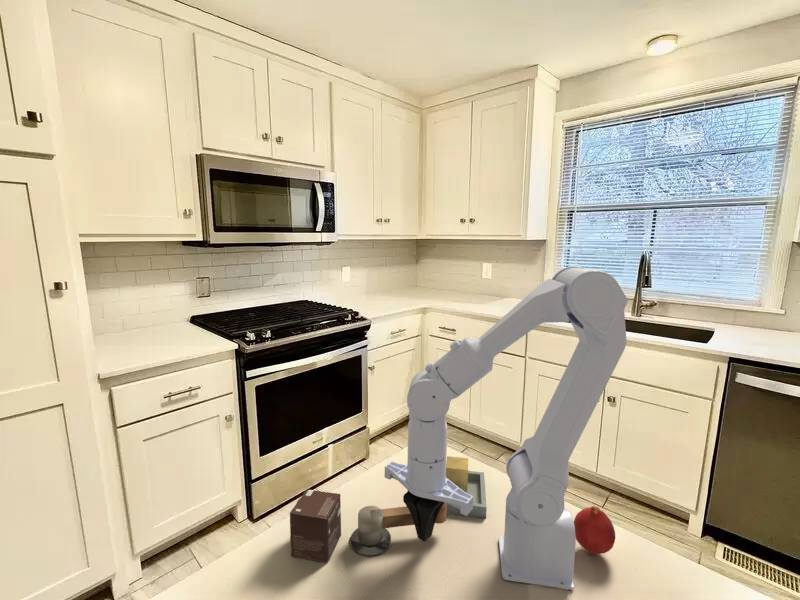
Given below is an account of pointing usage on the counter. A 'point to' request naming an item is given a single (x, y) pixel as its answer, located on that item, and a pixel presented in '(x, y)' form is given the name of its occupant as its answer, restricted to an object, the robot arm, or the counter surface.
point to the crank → (386, 521)
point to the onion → (594, 530)
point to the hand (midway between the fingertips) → (424, 536)
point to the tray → (474, 495)
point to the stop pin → (457, 471)
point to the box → (315, 525)
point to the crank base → (370, 550)
